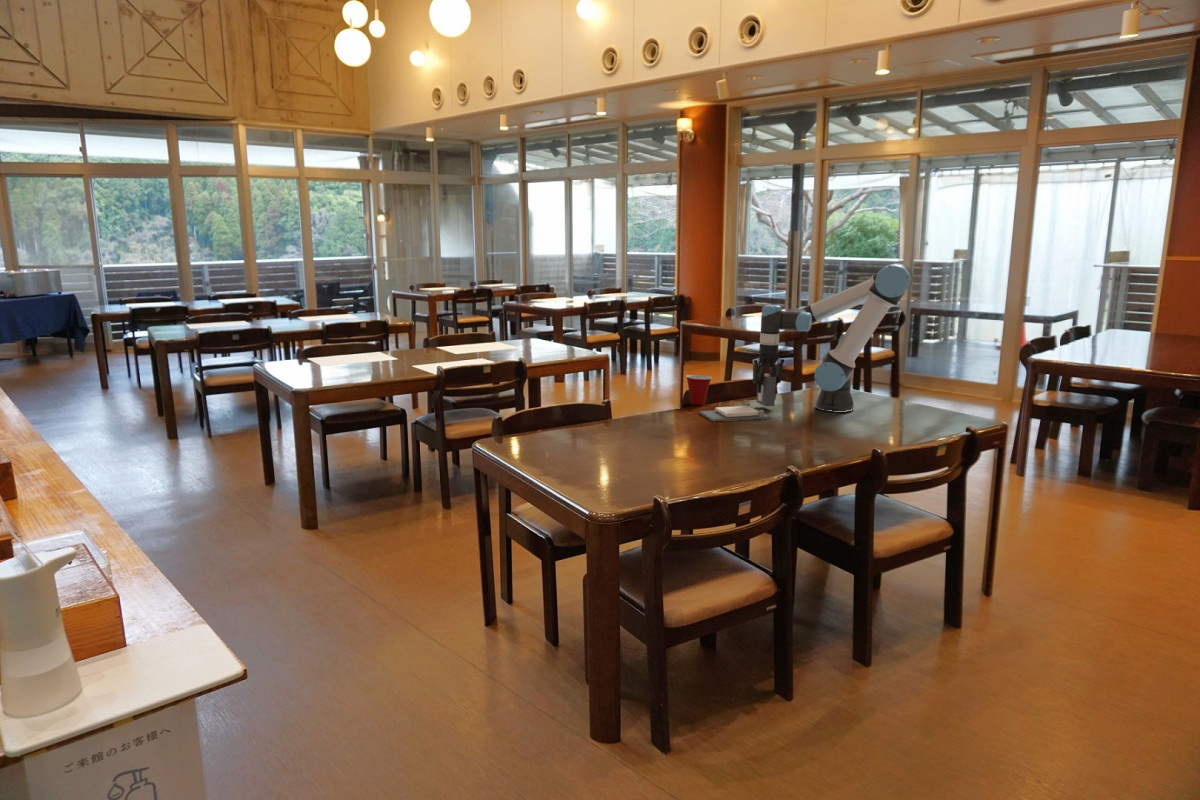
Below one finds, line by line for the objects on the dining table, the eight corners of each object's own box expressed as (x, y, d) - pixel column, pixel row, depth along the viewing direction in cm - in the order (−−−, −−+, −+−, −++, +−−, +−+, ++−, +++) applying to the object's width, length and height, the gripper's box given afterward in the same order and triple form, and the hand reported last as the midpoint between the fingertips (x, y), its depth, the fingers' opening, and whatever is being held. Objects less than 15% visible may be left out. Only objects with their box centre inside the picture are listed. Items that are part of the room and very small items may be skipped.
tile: (747, 405, 314) (715, 407, 310) (760, 412, 303) (726, 413, 300) (747, 409, 314) (715, 411, 311) (759, 415, 304) (726, 417, 300)
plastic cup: (715, 403, 330) (716, 375, 327) (704, 407, 321) (705, 379, 319) (691, 399, 336) (692, 372, 333) (680, 404, 327) (681, 376, 324)
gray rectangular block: (765, 401, 325) (767, 373, 322) (774, 406, 317) (776, 376, 315) (756, 402, 324) (758, 373, 321) (765, 406, 316) (767, 377, 314)
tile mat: (754, 410, 317) (755, 402, 316) (770, 419, 303) (771, 410, 303) (699, 413, 311) (699, 404, 310) (713, 422, 297) (713, 413, 297)
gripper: (784, 341, 321) (780, 397, 326) (745, 342, 317) (742, 399, 322) (792, 344, 314) (788, 401, 319) (753, 345, 310) (750, 403, 315)
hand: (765, 400), depth 320 cm, fingers closed on gray rectangular block, 4 cm apart
